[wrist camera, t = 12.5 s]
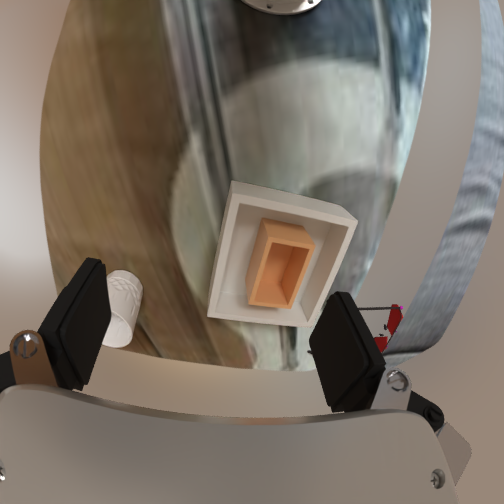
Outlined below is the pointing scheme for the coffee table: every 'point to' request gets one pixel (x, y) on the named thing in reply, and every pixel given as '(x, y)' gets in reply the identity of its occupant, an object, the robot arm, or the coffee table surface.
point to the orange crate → (278, 263)
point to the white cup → (122, 307)
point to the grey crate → (242, 243)
